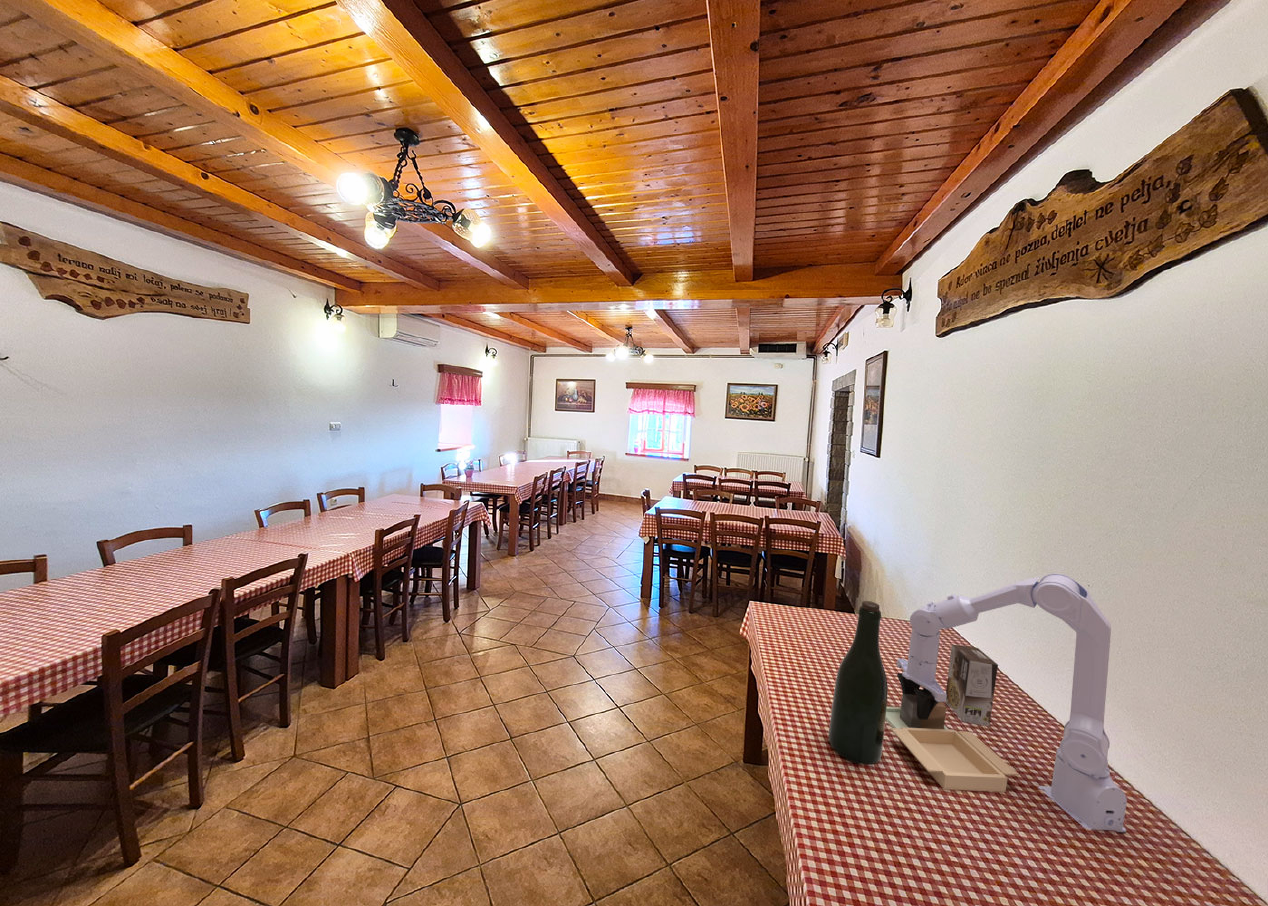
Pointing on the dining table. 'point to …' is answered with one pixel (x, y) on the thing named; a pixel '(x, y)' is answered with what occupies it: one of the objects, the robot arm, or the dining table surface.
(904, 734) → the carton
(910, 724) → the walnut block
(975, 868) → the dining table surface
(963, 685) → the coffee box
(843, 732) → the beer bottle
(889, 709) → the green tray
